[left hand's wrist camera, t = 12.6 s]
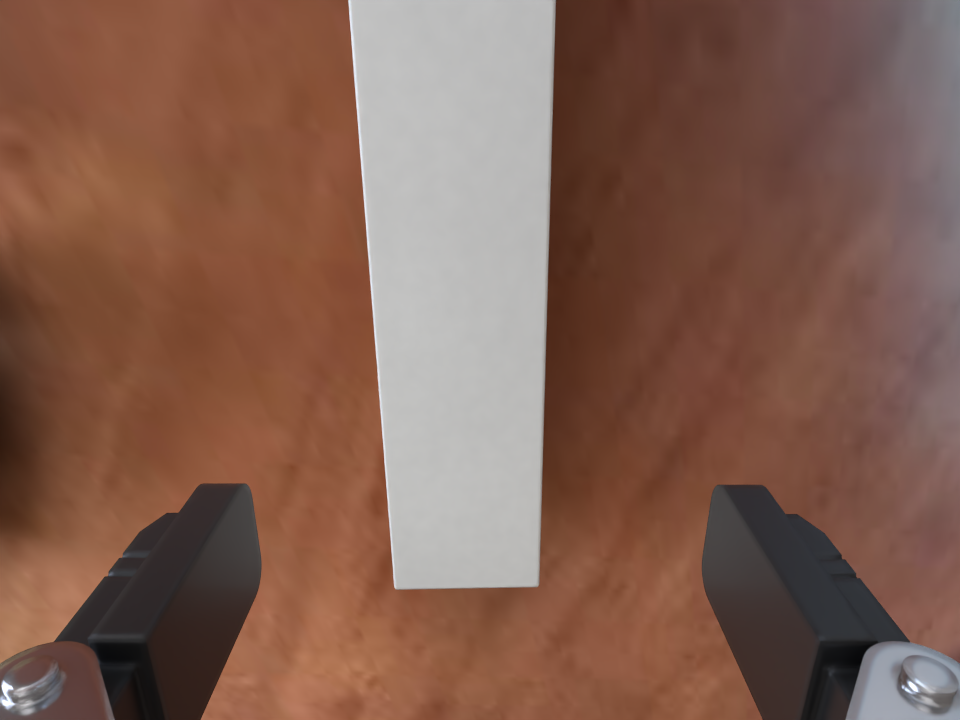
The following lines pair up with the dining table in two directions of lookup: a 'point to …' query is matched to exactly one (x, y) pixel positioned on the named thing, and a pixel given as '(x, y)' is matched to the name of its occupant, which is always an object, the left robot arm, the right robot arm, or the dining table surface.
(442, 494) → the bar
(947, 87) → the dining table surface
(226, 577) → the left robot arm
